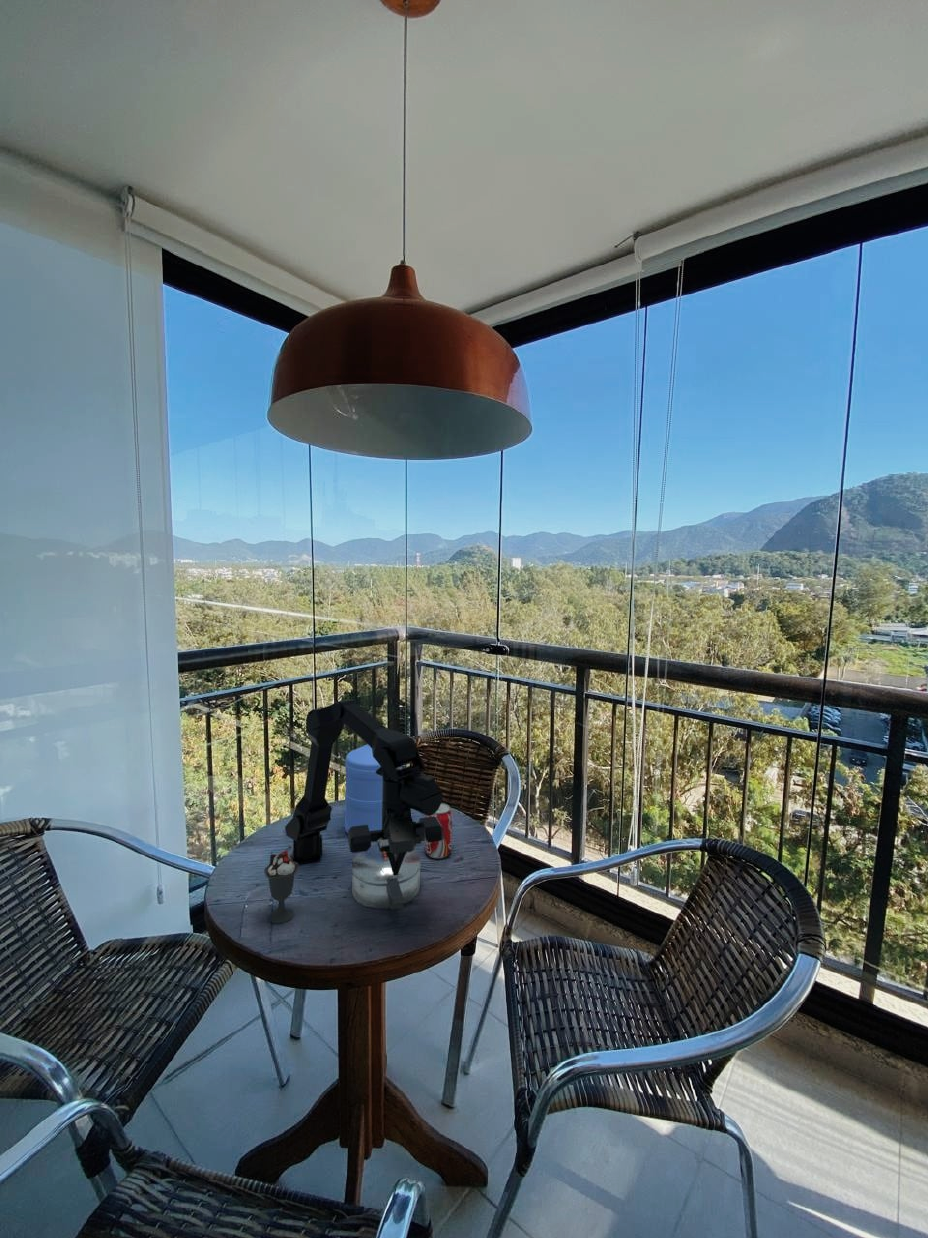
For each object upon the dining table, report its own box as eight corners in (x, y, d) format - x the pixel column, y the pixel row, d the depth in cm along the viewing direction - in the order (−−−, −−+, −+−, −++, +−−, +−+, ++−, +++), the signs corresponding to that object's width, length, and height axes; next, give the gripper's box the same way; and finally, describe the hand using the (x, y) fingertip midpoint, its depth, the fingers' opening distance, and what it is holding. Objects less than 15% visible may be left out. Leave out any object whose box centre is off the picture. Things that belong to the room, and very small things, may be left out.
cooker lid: (358, 910, 97) (359, 900, 97) (348, 853, 118) (349, 844, 117) (434, 897, 102) (435, 887, 102) (412, 844, 122) (412, 836, 122)
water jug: (405, 838, 135) (407, 736, 134) (345, 844, 131) (346, 739, 130) (397, 813, 150) (398, 721, 149) (343, 818, 146) (344, 723, 145)
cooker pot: (358, 933, 98) (359, 908, 98) (348, 870, 119) (348, 850, 119) (433, 919, 103) (433, 895, 102) (410, 861, 124) (411, 842, 124)
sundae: (298, 923, 100) (298, 850, 99) (262, 929, 98) (262, 855, 97) (299, 903, 107) (299, 835, 106) (265, 908, 105) (265, 838, 104)
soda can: (448, 862, 124) (449, 815, 123) (420, 859, 125) (421, 812, 125) (454, 848, 131) (455, 803, 130) (428, 845, 132) (429, 800, 132)
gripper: (353, 823, 91) (352, 906, 92) (451, 811, 97) (450, 889, 98) (348, 798, 102) (347, 873, 103) (436, 789, 108) (435, 859, 108)
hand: (395, 874), depth 103 cm, fingers closed
